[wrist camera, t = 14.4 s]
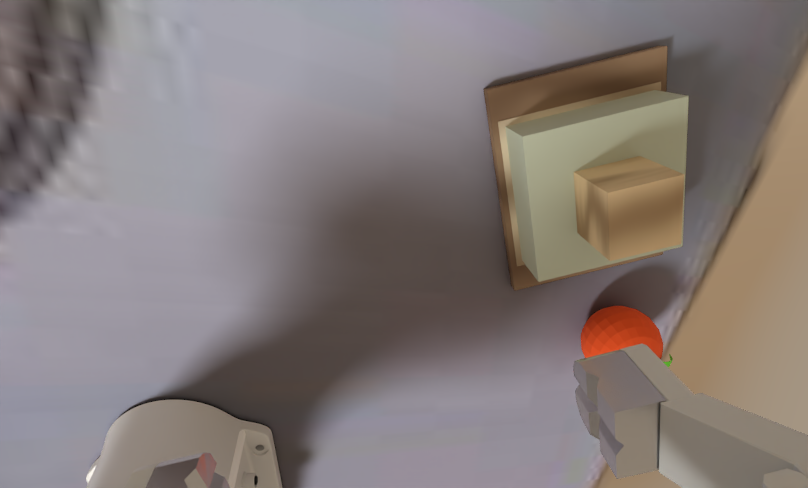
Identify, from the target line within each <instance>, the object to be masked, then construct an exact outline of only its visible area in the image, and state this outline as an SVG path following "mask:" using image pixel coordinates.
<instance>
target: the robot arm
mask: <svg viewBox="0 0 808 488" xmlns="http://www.w3.org/2000/svg"><path fill="white" fill-rule="evenodd" d="M573 370H574V376H575V378H576V379H577V381H578V382H579V386H578V387H577V389H576V390H575V393H576V402H577V406H578V409H579V412H580V416H581V418H582V420H583V422H584V424H585V426H586V428H587V430H588V431H589V433H590V435H592V436H594V437H596V438H598V439H599V440H600V451H601V453H602V455H603V457H604V458H605V460H606V462H607V463H608V465H609V467H610V468H611V470H612V471H613V473H614V475H615V476H616V478H617V479H619V478H624V477H628V476H633V475H638V474H642V473H647V472H652V471H656V470H659V473H661V474H662V475H664V476H666V477H667V478H668V479H670V480H672V481H673V482H674V483H676V484H677V485H679V486H681V487H682V488H808V435H806V434H804V433H801V432H798V431H796V430H794V429H791V428H789V427H786V426H784V425H781V424H779V423H776V422H773V421H771V420H768V419H766V418H763V417H761V416H758V415H756V414H753V413H751V412H748V411H746V410H743V409H741V408H738V407H736V406H733V405H731V404H728V403H726V402H723V401H721V400H718V399H716V398H713V397H711V396H708V395H706V394H703V393H699V394H695V395H694V394H693V393H692V391H691V390H689V388H688V387H687V386H686V385H685V384H684V383H683V382H682V381H681V380H680V379H679V378H678V377H677V376H676V375H675V374H674V373H673V372H672V371H671V370H670V369H669V368H668V367H667V366H666V365H665V364H664V363H663V362H662V360H661V359H660V358H659V357H658V356H657V355H656V354H655V353H654V352H653V351H652V350H651V349H650V348H649V347H648V346H647V345H645V344H642V343H641V344H638V345H634V346H630V347H626V348H622V349H619V350H615V351H612V352H608V353H604V354H600V355H596V356H592V357H588V358H584V359H580V360H576V361H574V365H573ZM86 480H87V482H88V485H87V487H86V488H282V482H281V477H280V472H279V467H278V461H277V456H276V451H275V446H274V441H273V435H272V432H271V430H270V429H269V428H268V427H267V426H264V425H262V424H258V423H253V422H248V421H242V420H239V419H237V418H235V417H233V416H231V415H229V414H227V413H225V412H224V411H222V410H220V409H217V408H215V407H213V406H210V405H207V404H203V403H199V402H195V401H189V400H160V401H154V402H149V403H146V404H143V405H140V406H137V407H135V408H133V409H131V410H129V411H127V412H126V413H124V414H123V415H121V416H120V417H119V418H118V419H117V420H116V421H115V422H114V423H113V424H112V426H111V427H110V429H109V431H108V433H107V435H106V439H105V442H104V446H103V449H102V452H101V455H100V457H99V458H98V459H97V460H96V461H95V462H94V463H93V465H92V466H91V468H90V470H89V472H88V474H87V477H86Z"/></svg>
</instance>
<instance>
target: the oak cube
mask: <svg viewBox="0 0 808 488" xmlns="http://www.w3.org/2000/svg"><path fill="white" fill-rule="evenodd" d="M574 187H575V203H576V219H577V233H578V234H579V235H580V236H581V237H583V238H584V239H585V240H586V241H587V242H588V243H589V244H591V245H592V246H593V247H594V248H595V249H596V250H597V251H599V252H600V253H601V254H602V255H603V256H604V257H605V258H607V259H608V260H609V261H613V260H617V259H622V258H626V257H630V256H634V255H638V254H642V253H646V252H650V251H654V250H659V249H663V248H667V247H671V246H675V245H679V244H681V240H682V217H683V194H684V174H682V173H680V172H677V171H675V170H673V169H670V168H668V167H665V166H663V165H661V164H658V163H656V162H653V161H651V160H649V159H646V158H644V157H641V156H637V157H633V158H629V159H625V160H621V161H617V162H613V163H608V164H604V165H600V166H596V167H592V168H588V169H584V170H580V171H575V172H574Z"/></svg>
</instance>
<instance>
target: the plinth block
mask: <svg viewBox="0 0 808 488" xmlns="http://www.w3.org/2000/svg"><path fill="white" fill-rule="evenodd" d="M688 101H689V96H687V95H681V94H675V93H670V92H664V91H658V90H652V91H648V92H644V93H640V94H636V95H632V96H628V97H624V98H620V99H616V100H612V101H608V102H603V103H599V104H595V105H591V106H587V107H583V108H579V109H575V110H571V111H567V112H563V113H559V114H555V115H551V116H546V117H542V118H538V119H534V120H530V121H526V122H522V123H518V124H514V125H510V126H506V127H505V129H506V137H507V145H508V153H509V161H510V168H511V176H512V184H513V192H514V200H515V208H516V216H517V224H518V232H519V240H520V248H521V256H522V261H523V262H524V263H525V265H526V266H527V267H528V269H529V270H530V271H531V273H532V274H533V275H534V277H535V278H536V279H537V281H538V282H541V281H545V280H549V279H553V278H557V277H561V276H565V275H569V274H573V273H577V272H581V271H585V270H589V269H593V268H597V267H601V266H606V265H610V264H614V263H618V262H622V261H626V260H630V259H634V258H638V257H642V256H646V255H650V254H654V253H658V252H662V251H666V250H671V249H675V248H679V247H683V222H684V198H685V174H686V149H687V125H688ZM637 156H641V157H644V158H646V159H649V160H651V161H653V162H656V163H658V164H661V165H663V166H665V167H668V168H670V169H673V170H675V171H677V172H680V173H682V174H684V194H683V217H682V240H681V244H679V245H675V246H671V247H667V248H663V249H659V250H654V251H650V252H646V253H642V254H638V255H634V256H630V257H626V258H622V259H617V260H613V261H609V260H608V259H607V258H605V257H604V256H603V255H602V254H601V253H600V252H599V251H597V250H596V249H595V248H594V247H593V246H592V245H591V244H589V243H588V242H587V241H586V240H585V239H584V238H583V237H581V236H580V235H579V234H578V233H577V219H576V203H575V187H574V172H575V171H580V170H584V169H588V168H592V167H596V166H600V165H604V164H608V163H613V162H617V161H621V160H625V159H629V158H633V157H637Z"/></svg>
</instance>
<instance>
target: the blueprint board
mask: <svg viewBox="0 0 808 488" xmlns="http://www.w3.org/2000/svg"><path fill="white" fill-rule="evenodd" d="M666 87H667V46H656V47H652V48H648V49H644V50H640V51H636V52H632V53H628V54H623V55H619V56H615V57H611V58H607V59H603V60H599V61H595V62H591V63H587V64H583V65H579V66H575V67H570V68H566V69H562V70H558V71H554V72H550V73H546V74H542V75H538V76H534V77H530V78H526V79H522V80H517V81H513V82H509V83H505V84H501V85H497V86H493V87H489V88H485V89H484V95H485V103H486V110H487V117H488V124H489V131H490V138H491V145H492V152H493V159H494V166H495V174H496V181H497V188H498V195H499V202H500V209H501V216H502V223H503V230H504V237H505V244H506V252H507V259H508V266H509V273H510V280H511V286H512V287H513V289H514V291H516V290H520V289H524V288H528V287H532V286H536V285H540V284H544V283H548V282H552V281H556V280H561V279H565V278H569V277H573V276H577V275H581V274H585V273H589V272H593V271H597V270H601V269H605V268H609V267H613V266H617V265H622V264H626V263H630V262H634V261H638V260H642V259H646V258H650V257H654V256H658V255H662V254H663V251H662V252H658V253H654V254H650V255H646V256H642V257H638V258H634V259H630V260H626V261H622V262H618V263H614V264H610V265H606V266H601V267H597V268H593V269H589V270H585V271H581V272H577V273H573V274H569V275H565V276H561V277H557V278H553V279H549V280H545V281H541V282H538V281H537V279H536V278H535V277H534V275H533V274H532V273H531V271H530V270H529V269H528V267H527V266H526V265H525V263H524V262H523V261H522V256H521V248H520V240H519V232H518V224H517V216H516V208H515V200H514V192H513V184H512V176H511V168H510V161H509V153H508V145H507V137H506V129H505V127H506V126H510V125H514V124H518V123H522V122H526V121H530V120H534V119H538V118H542V117H546V116H551V115H555V114H559V113H563V112H567V111H571V110H575V109H579V108H583V107H587V106H591V105H595V104H599V103H603V102H608V101H612V100H616V99H620V98H624V97H628V96H632V95H636V94H640V93H644V92H648V91H652V90H658V91H664V92H666Z"/></svg>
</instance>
